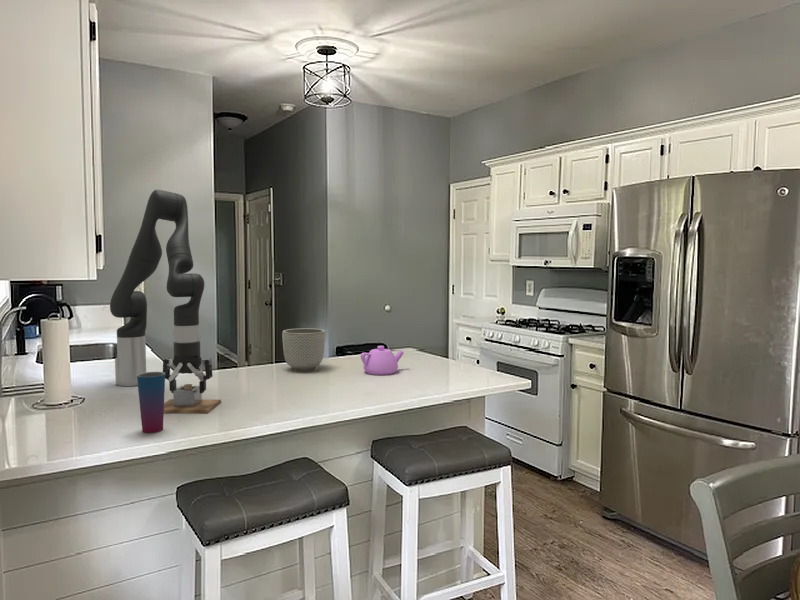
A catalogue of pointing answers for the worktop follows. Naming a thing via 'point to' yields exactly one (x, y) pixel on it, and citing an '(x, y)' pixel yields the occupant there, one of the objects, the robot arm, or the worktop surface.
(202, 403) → the post board
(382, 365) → the teapot
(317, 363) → the planter
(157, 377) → the cup
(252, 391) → the worktop surface
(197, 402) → the collar
